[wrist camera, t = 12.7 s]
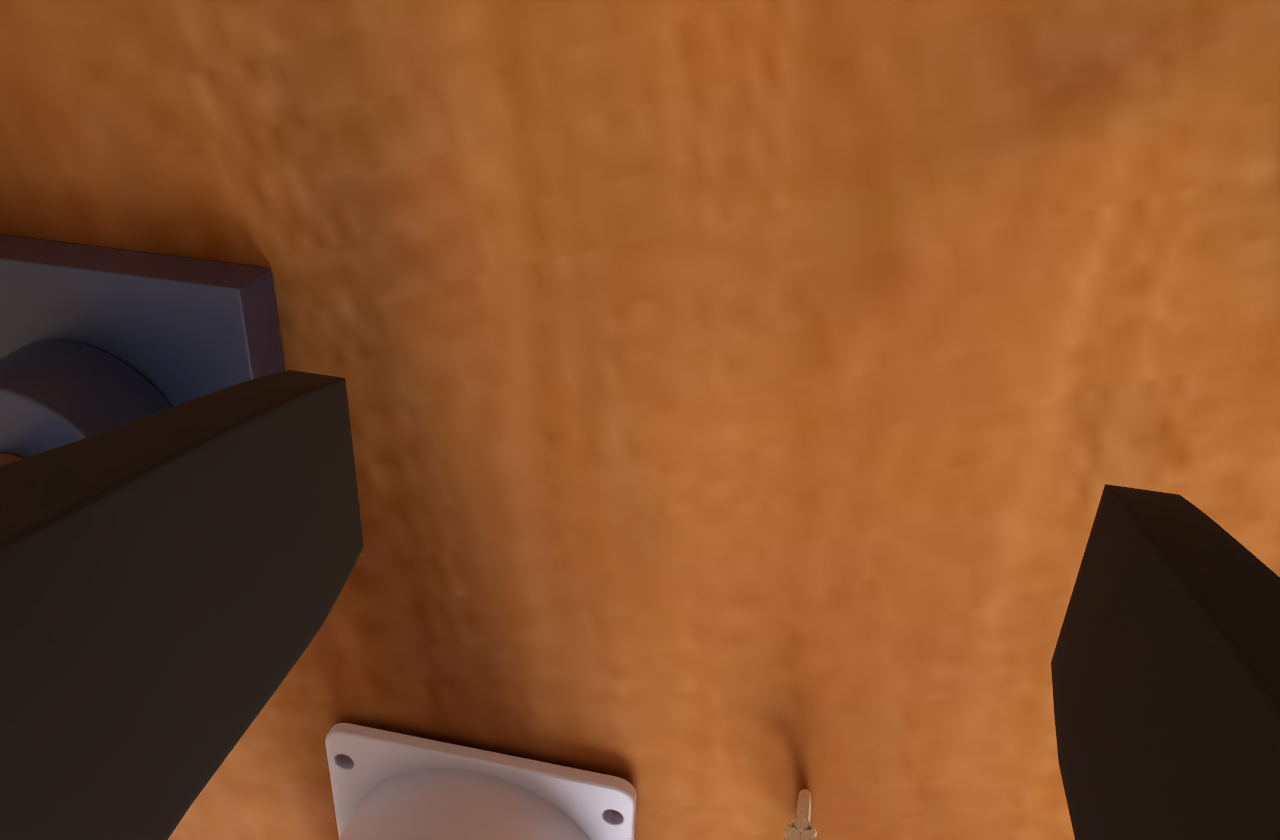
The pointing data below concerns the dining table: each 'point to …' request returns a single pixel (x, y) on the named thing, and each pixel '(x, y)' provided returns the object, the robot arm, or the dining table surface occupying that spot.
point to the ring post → (120, 337)
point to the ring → (801, 820)
